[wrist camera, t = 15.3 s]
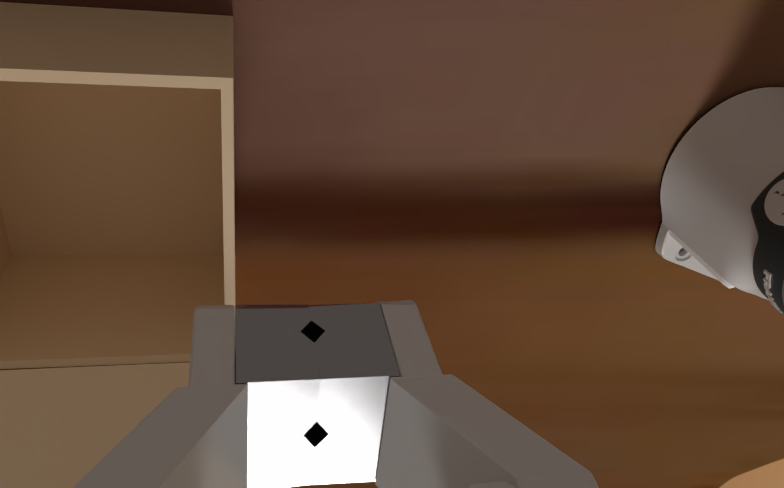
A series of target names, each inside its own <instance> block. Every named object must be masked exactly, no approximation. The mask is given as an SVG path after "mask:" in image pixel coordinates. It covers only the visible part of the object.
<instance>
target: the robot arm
mask: <svg viewBox="0 0 784 488" xmlns="http://www.w3.org/2000/svg"><path fill="white" fill-rule="evenodd" d="M660 199H661V209H662V224H661V227H660V230H659V233H658V236H657V240H656V246H655V248H656V251H657V253H658V254H659V255H661V256H662V257H663V258H665V259H666V260H669V261H671V262H674V263H676V264H679V265H681V266H684V267H686V268H689V269H691V270H694V271H696V272H699V273H701V274H704V275H706V276H709V277H712V278H714V279H717V280H719V281H720V282H721V283H722V284H723V285H725V286H726V287H728V288H733V287H736V288H738V289H740V290H742V291H745V292H748V293H751V294H754V295H757V296H760V297H762V298H765V299H768V300H769V301H770V302H771V303H772V305H773V306H774V307H775V308H776V309H777V310H778V311H779V312H781V313H782V314H784V87H766V88H759V89H754V90H750V91H747V92H744V93H741V94H739V95H736V96H734V97H732V98H730V99H728V100H726V101H724V102H722V103H721V104H719V105H718V106H716V107H715V108H713V109H712V110H710V111H709V112H708V113H707V114H705V115H704V116H703V117H702V118H701V119H700V120H698V121H697V122H696V123H695V124H694V125H693V126H692V127H691V129H690V130H689V131H688V132H687V133H686V134H685V136H684V137H683V138H682V139H681V141H680V142H679V144H678V145H677V147H676V148H675V150H674V152H673V154H672V155H671V157H670V159H669V162H668V164H667V166H666V169H665V172H664V175H663V179H662V184H661V194H660ZM682 248H683V249H682ZM680 249H682V250H681V251H680ZM374 481H376V486H377V487H378V488H599V487H598V485H597V483H596V481H595V479H594V477H593V475H592V473H591V472H590V471H588V470H587V469H585V468H584V467H583V466H581V465H580V464H578V463H577V462H576V461H574V460H573V459H571V458H570V457H568V456H567V455H566V454H564V453H563V452H561V451H560V450H559V449H557V448H556V447H554V446H553V445H551V444H550V443H549V442H547V441H546V440H544V439H543V438H542V437H540V436H539V435H537V434H536V433H535V432H533V431H532V430H530V429H529V428H527V427H526V426H525V425H523V424H522V423H520V422H519V421H518V420H516V419H515V418H513V417H512V416H510V415H509V414H508V413H506V412H505V411H503V410H502V409H501V408H499V407H498V406H496V405H495V404H493V403H492V402H491V401H489V400H488V399H486V398H485V397H484V396H482V395H481V394H479V393H478V392H476V391H475V390H474V389H472V388H471V387H469V386H468V385H467V384H465V383H464V382H462V381H461V380H460V379H458V378H457V377H455V376H454V375H442V372H441V370H440V367H439V364H438V362H437V359H436V356H435V353H434V351H433V348H432V345H431V343H430V340H429V337H428V335H427V332H426V329H425V327H424V324H423V321H422V318H421V316H420V313H419V310H418V308H417V305H416V303H414V302H413V301H412V300H405V301H386V302H378V303H363V304H332V305H235V308H234V306H233V305H198V306H196V308H195V311H194V319H193V331H192V344H191V357H190V369H189V382H188V387H177V388H175V389H174V390H173V391H172V392H171V393H170V394H169V395H168V396H167V397H166V398H165V399H164V400H163V401H162V402H161V403H160V404H159V405H158V406H157V407H156V408H155V409H154V410H153V411H152V412H151V413H149V414H148V415H147V416H146V417H145V418H144V419H143V420H142V421H141V422H140V423H139V424H138V425H137V426H136V427H135V428H134V429H133V430H132V431H131V432H130V433H129V434H128V435H127V436H126V437H125V438H124V439H123V440H122V441H120V442H119V443H118V444H117V445H116V446H115V447H114V448H113V449H112V450H111V451H110V452H109V453H108V454H107V455H106V456H105V457H104V458H103V459H102V460H101V461H100V462H99V463H98V464H97V465H96V466H95V467H94V468H93V469H92V470H90V471H89V472H88V473H87V474H86V475H85V476H84V477H83V478H82V479H81V480H80V481H79V482H78V483H77V484H76V485H75V486H74V487H73V488H284V487H294V486H303V485H312V484H313V485H314V484H334V483H354V482H374Z"/></svg>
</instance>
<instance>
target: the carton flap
mask: <svg viewBox="0 0 784 488" xmlns="http://www.w3.org/2000/svg"><path fill="white" fill-rule="evenodd" d="M189 369H190V363H169V364H144V365H119V366H95V367H70V368H45V369H21V370H0V488H73V487H74V486H75V485H76V484H77V483H78V482H79V481H80V480H81V479H82V478H83V477H84V476H85V475H86V474H87V473H88V472H89V471H90V470H92V469H93V468H94V467H95V466H96V465H97V464H98V463H99V462H100V461H101V460H102V459H103V458H104V457H105V456H106V455H107V454H108V453H109V452H110V451H111V450H112V449H113V448H114V447H115V446H116V445H117V444H118V443H119V442H120V441H122V440H123V439H124V438H125V437H126V436H127V435H128V434H129V433H130V432H131V431H132V430H133V429H134V428H135V427H136V426H137V425H138V424H139V423H140V422H141V421H142V420H143V419H144V418H145V417H146V416H147V415H148V414H149V413H151V412H152V411H153V410H154V409H155V408H156V407H157V406H158V405H159V404H160V403H161V402H162V401H163V400H164V399H165V398H166V397H167V396H168V395H169V394H170V393H171V392H172V391H173V390H174V389H175V388H177V387H188V382H189Z"/></svg>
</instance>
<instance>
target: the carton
mask: <svg viewBox="0 0 784 488" xmlns="http://www.w3.org/2000/svg"><path fill="white" fill-rule="evenodd" d="M198 305H233V306H234V308H235V178H234V53H233V16H227V15H210V14H193V13H177V12H160V11H143V10H127V9H110V8H94V7H77V6H60V5H44V4H27V3H10V2H0V369H18V368H43V367H68V366H93V365H118V364H142V363H167V362H190V357H191V344H192V331H193V319H194V311H195V308H196V306H198Z"/></svg>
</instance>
